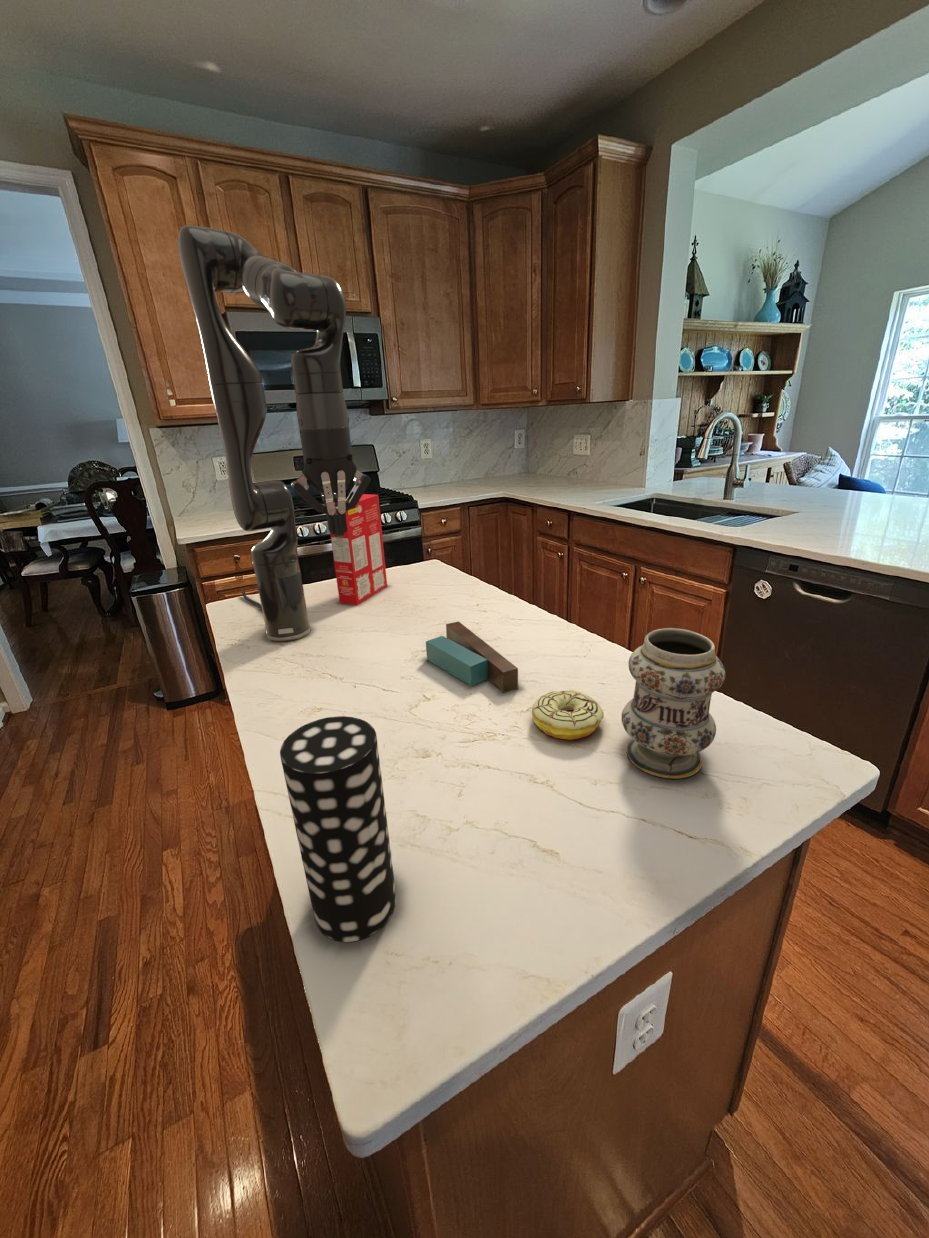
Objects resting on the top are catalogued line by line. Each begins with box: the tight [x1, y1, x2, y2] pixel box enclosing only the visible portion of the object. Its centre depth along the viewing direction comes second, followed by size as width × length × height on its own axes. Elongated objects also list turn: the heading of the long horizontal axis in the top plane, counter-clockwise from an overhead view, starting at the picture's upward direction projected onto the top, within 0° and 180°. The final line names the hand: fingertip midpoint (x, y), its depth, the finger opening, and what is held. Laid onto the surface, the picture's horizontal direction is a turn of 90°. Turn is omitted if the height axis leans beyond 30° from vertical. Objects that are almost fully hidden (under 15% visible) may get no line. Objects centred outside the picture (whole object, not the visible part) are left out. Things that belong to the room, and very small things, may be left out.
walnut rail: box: [445, 621, 519, 693], centre depth 102 cm, size 24×3×4 cm, turn 26°
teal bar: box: [425, 635, 489, 687], centre depth 100 cm, size 14×4×4 cm, turn 38°
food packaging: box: [329, 493, 388, 606], centre depth 136 cm, size 15×5×25 cm, turn 157°
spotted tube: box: [279, 715, 397, 943], centre depth 51 cm, size 8×8×20 cm
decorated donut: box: [531, 689, 605, 741], centre depth 82 cm, size 10×11×4 cm
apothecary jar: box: [621, 627, 726, 780], centre depth 71 cm, size 12×12×18 cm
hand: (338, 535), depth 88 cm, fingers closed
